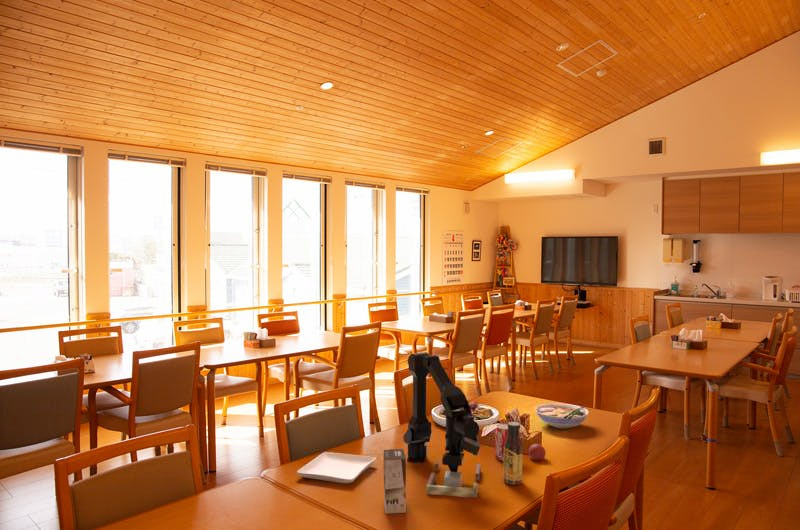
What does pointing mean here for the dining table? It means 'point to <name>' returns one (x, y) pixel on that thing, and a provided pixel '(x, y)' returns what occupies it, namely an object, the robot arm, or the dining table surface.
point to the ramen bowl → (561, 414)
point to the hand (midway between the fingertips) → (454, 477)
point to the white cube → (452, 479)
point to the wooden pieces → (450, 489)
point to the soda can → (500, 440)
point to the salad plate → (336, 467)
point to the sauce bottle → (513, 456)
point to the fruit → (537, 452)
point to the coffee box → (394, 481)
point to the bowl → (479, 413)
